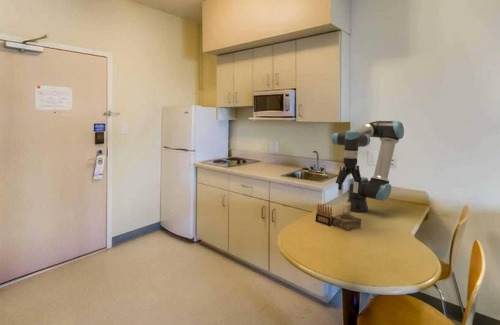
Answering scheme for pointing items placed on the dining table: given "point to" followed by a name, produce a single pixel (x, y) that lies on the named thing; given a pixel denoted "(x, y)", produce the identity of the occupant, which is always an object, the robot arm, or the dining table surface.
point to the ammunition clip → (324, 215)
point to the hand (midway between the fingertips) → (347, 193)
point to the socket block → (346, 222)
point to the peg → (346, 210)
